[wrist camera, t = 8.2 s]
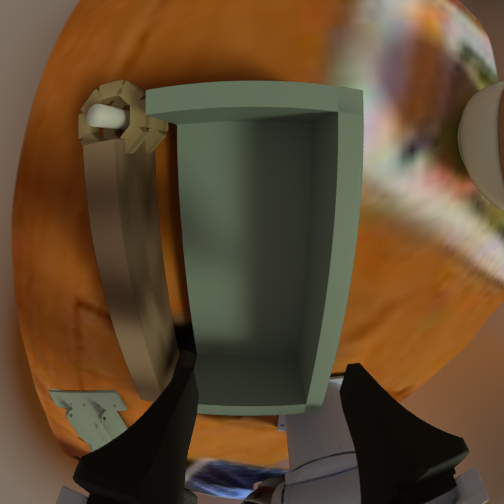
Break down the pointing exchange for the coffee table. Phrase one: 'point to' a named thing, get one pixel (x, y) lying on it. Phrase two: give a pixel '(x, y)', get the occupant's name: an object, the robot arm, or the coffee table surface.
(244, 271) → the sage green open box
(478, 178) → the lidded jar
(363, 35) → the coffee table surface
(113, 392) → the metal bracket
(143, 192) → the brown gear-headed lever
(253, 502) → the lucky cat figurine
